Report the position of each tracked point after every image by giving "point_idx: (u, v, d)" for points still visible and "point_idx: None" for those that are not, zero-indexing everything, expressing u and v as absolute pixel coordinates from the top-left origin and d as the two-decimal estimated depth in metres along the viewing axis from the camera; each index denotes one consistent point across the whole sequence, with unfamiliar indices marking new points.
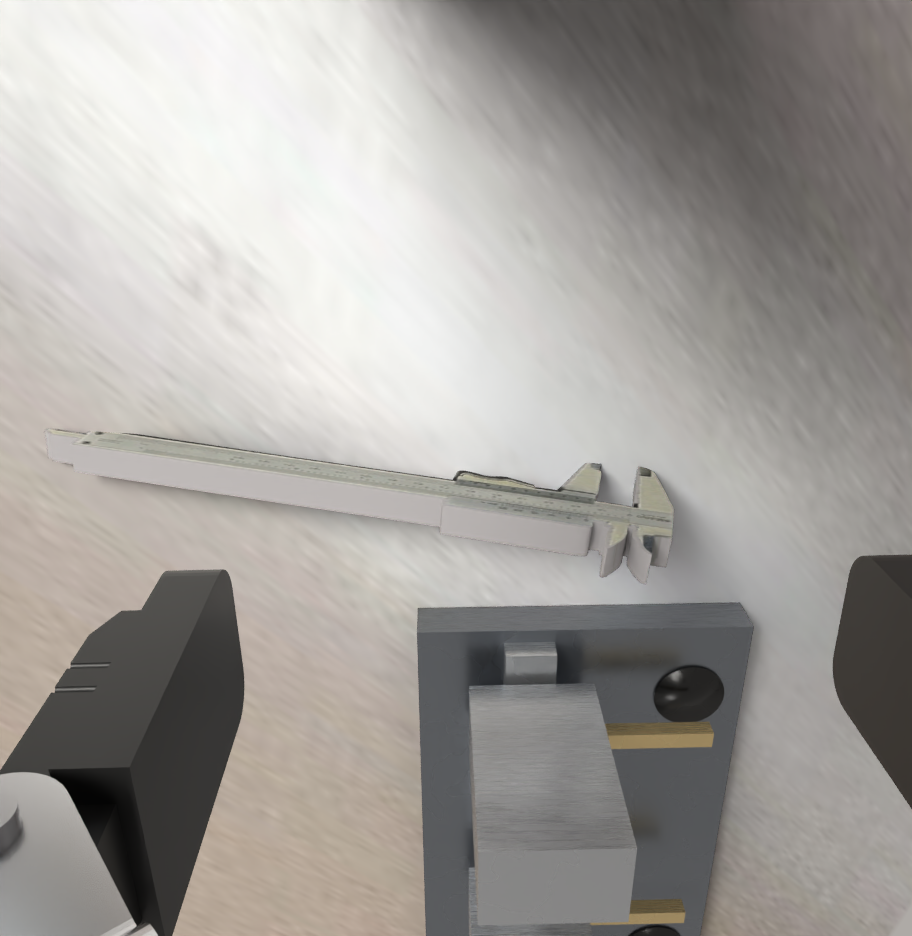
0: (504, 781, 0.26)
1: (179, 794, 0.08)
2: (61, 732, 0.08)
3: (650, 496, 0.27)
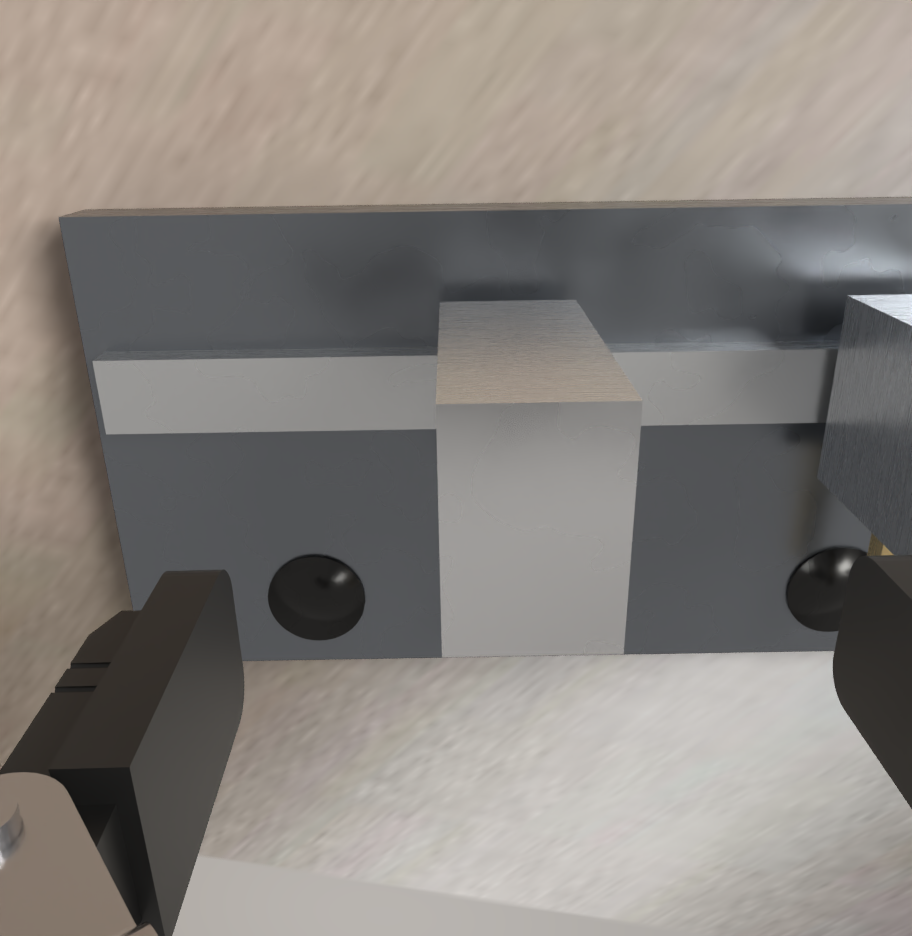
0: None
1: (179, 794, 0.08)
2: (61, 732, 0.08)
3: None
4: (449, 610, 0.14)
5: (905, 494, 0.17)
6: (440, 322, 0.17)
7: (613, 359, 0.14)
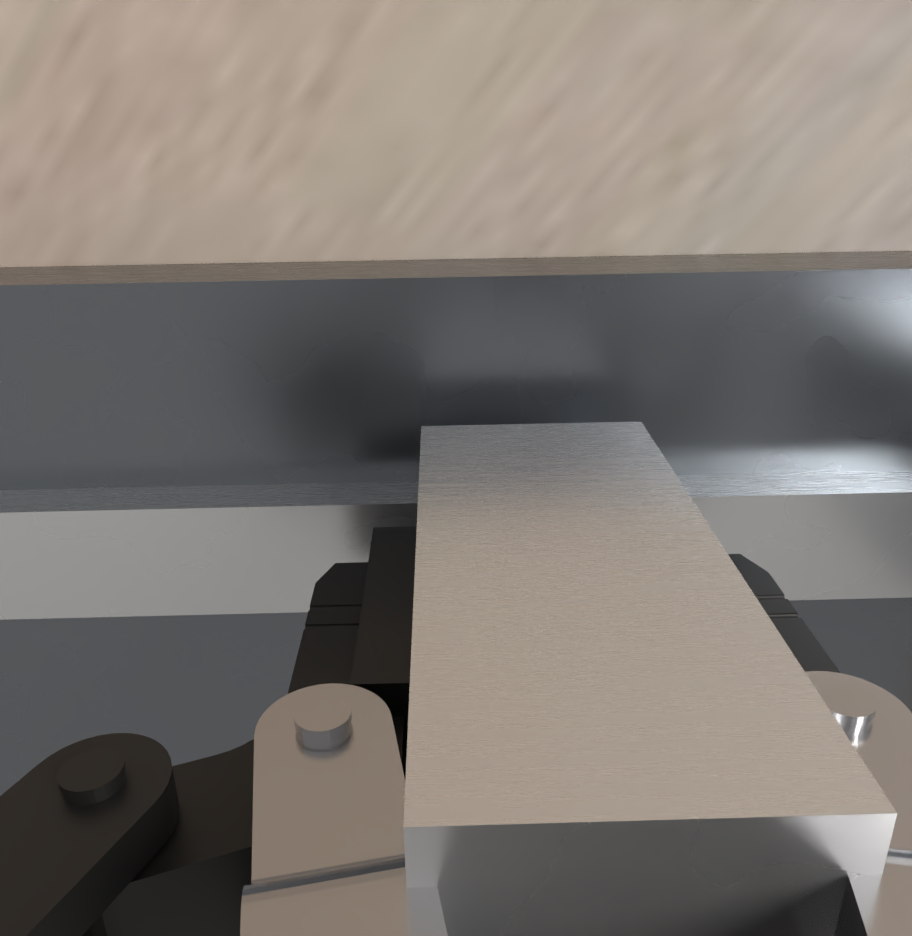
0: None
1: None
2: (328, 660, 0.09)
3: None
4: None
5: None
6: (421, 484, 0.10)
7: (764, 616, 0.07)
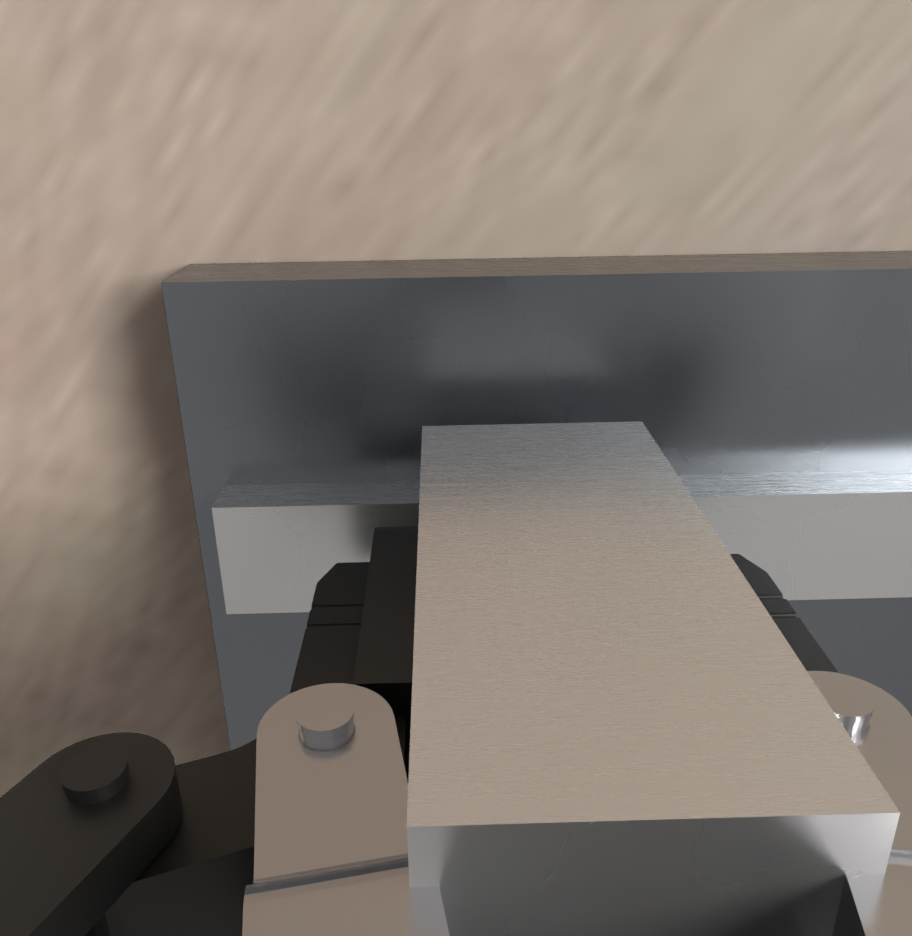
0: None
1: None
2: (330, 660, 0.09)
3: None
4: None
5: None
6: (422, 484, 0.10)
7: (766, 615, 0.07)
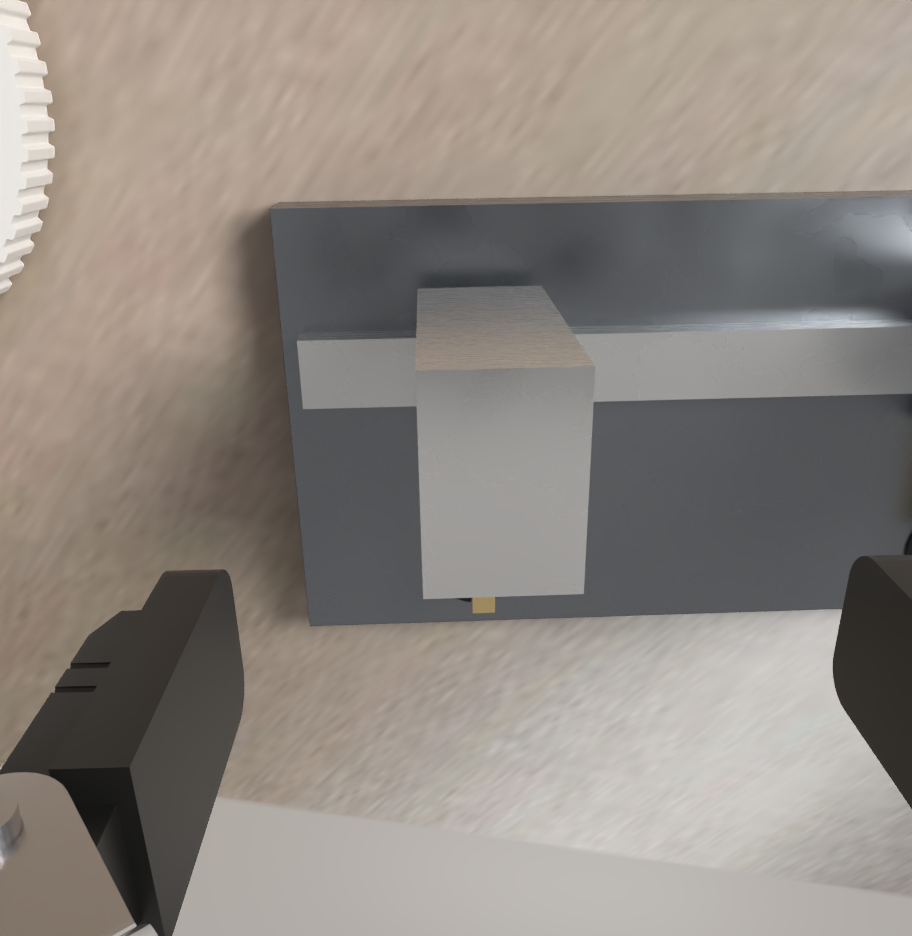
0: None
1: (180, 794, 0.08)
2: (61, 732, 0.08)
3: None
4: (429, 556, 0.15)
5: None
6: (418, 305, 0.19)
7: (572, 334, 0.16)
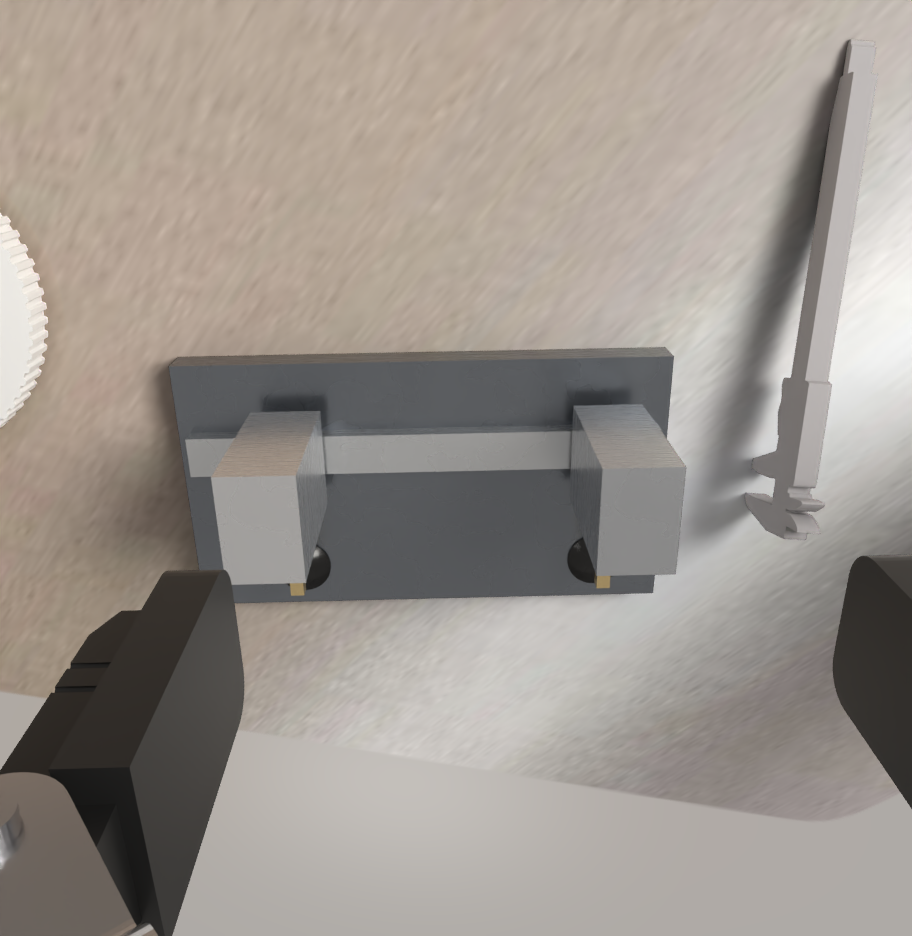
0: None
1: (179, 796, 0.08)
2: (61, 732, 0.08)
3: None
4: (226, 563, 0.32)
5: (584, 507, 0.35)
6: (241, 428, 0.35)
7: (303, 452, 0.32)
